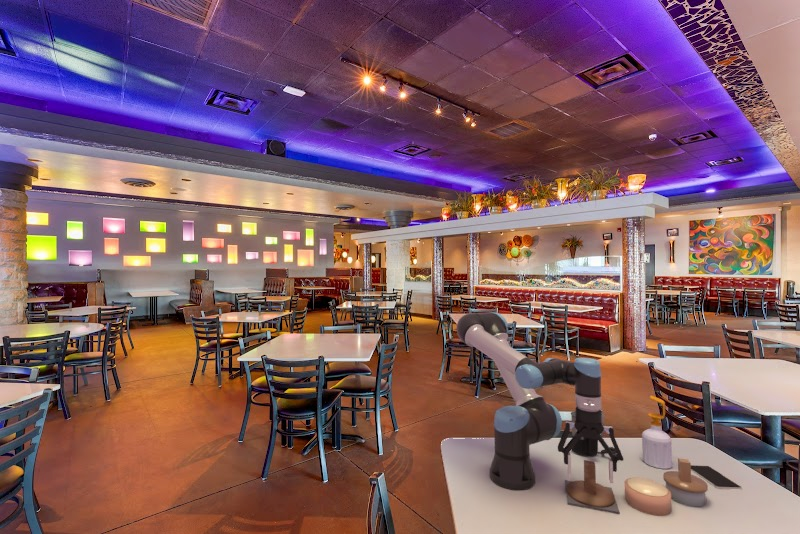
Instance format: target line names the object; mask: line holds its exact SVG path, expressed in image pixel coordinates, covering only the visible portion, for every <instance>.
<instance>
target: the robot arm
mask: <svg viewBox="0 0 800 534" xmlns="http://www.w3.org/2000/svg"><path fill="white" fill-rule="evenodd" d="M508 332H509V324H508V321H507V319H506V318H505V317H504V316H503V315H502V314H501V313H498V312H493V311H487V312H477V313H475V312H471V313H466V314H463V315H462V316H461V317H460V318H459V319H458V321H457V323H456V334H457V336H458V338H459V339H460V340H461V342H463V343H464V344H465V345H467V346H468V347H471V348H475V349H477V350H478V351H480V352H481V353H482V354H484V355H486V356H487V357H488V358H489V359H491V360H492V361H493V362H494V363H495V365H496V368H497V369H498V372H499V373H500V376H501V377H502V379H503V381H504V383H505V385H506V387H507V389H508V391H509V393H510V395H511V396H512V399H513V401H514V402H515V405H504V406H502V407H500V408H498V409H497V410H496V411H495V413H494V420H493V427H494V432H493V434H494V435H493V436H494V455H493V458H492V461H491V464H490V468H489V477H490V480H491V482H493V483H494V484H496V485H498V486H500V487H502V488H504V489H508V490H514V491H515V490H516V491H517V490H518V491H519V490H520V491H523V490H529V489H531V488H533V487H534V486H535V484H536V473H535V470H534V467H533V464H532V460H531V458H530V455H531V454H530V446H531V445H535V444H537V443H541V442H543V441H550V440H552V439H553V438H555V437H558V435H559V434H560V433H561V432H562V425H563V419H562V417H561V412H559V410H558V409H557V408H556V407H555V405H552V404H551V403H547V402H546V400H545V398H544V396H543V395H539V394H537V392H536V390H535V389H538V388H543V387H547V386H551V385H556V384H557V385H558V384H565V385H569V386H573V387H574V394H575V395H574V398H575V399H574V404H575V406H576V407H575V411H576V420H575V422H574V423H573V422H572V421H569V420H565V423H564V430H563V432H562V434H561V438H560V439H559V442H558V444H557V452H560V453H562V454H563V463H564V465H566V466H567V477H572V463H571V462H572V459H571V458H572V456H571V451H572V448H573V447H574V446H575V444H576V443H577V442H578V441H579V440H580V439H581V438H582V437H584V438H591V439H596V438H597V439H598V443H600V445H601V446H602V447H603V450H606V452H607V453H608V454H607V455H608V456H609V457H608V480H609V483H610V484H614V473H615V472H617V471H618V467H617V466H618V465H617V463H618V461H619V462H620V461H621V462H622V461H624V456H623V454H622V451H621V449H620V447H619V445H618V443H617V440H616V437H615V433H614V432H615V431H614V428H613V426H612V425H607V426H606V425H603V413H602V410H601V409H602V371H601V363H600V361H599V360H598V359H596V358H589V357H577V358H575V359H574V361H568V360H564V359H561V358H552V357H547V358H545V360H543V361H542V362H541V361H540V362H537V361H534V360H533V359H532V358H531V359H530V358H529V357H527V356H526V355H524V354H522V353H521V352H520V351H518V350H516V349H515V348H513V347H512V346H510V344H509V342H508V338H509V334H508ZM573 427H575V428H576V429H577V432H576V433H575V435H574V436H573V438H572V437H571V439H570V440H569V441H568V443H567V444H566V441H567V439H568V436H569V434H570V430H571V431H572V428H573ZM604 431H605V432H606V434H607V435H608V436H609V438H610V440H611V443H612V447H613V448H615V450H616V454H613V452H612V451H611V449H610V448H609V447H610V446H609V445H608V444H607V442H606V441H605V439H604V438H603V436H602V433H603V432H604ZM565 444H566V445H565ZM620 451H621V452H620Z"/></svg>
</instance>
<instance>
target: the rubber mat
mask: <svg viewBox="0 0 800 534" xmlns="http://www.w3.org/2000/svg"><path fill="white" fill-rule="evenodd" d="M570 482H572V480H568V479H567V480H566V479H565V480H564V483H565V484H564V485H565V492H566V494H565V495H566V499H567V500H566V502H567V505H568V506H573V507H574V506H575V507H578V508H580V507H581V508H584V509H590V510H595V511H601V512H605V513H611V514H617V515H620V509H619V506H618V503H617V501H616V499H615V503H614V504H613V505H612V506H610V507H606V508H597V507H591V506H587V505H584V504H582V503H579V502H577V501H575V500H574V499H572V498H571V497H570V496H569V495H568V493H567V485H568V484H569V483H570ZM605 487H606V488H608V489H609V490H610V491H611V492H612V493H613V494H614V491H613V488H612V487H609V486H605Z"/></svg>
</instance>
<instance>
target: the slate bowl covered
mask: <svg viewBox="0 0 800 534" xmlns="http://www.w3.org/2000/svg"><path fill="white" fill-rule="evenodd" d="M691 465H692V463H691V461H689V459H686V458H681V457H680V458H677V470H678V471H677V470H668V471H665V472H663V474H662V477H663V478H662V479H663V481H664V482H665V487H667V488H668V489H669V490H670V492H671V501H672V500H673V501H674V502H677V503H678V504H682V505H684V506H689V507H696V508H698V507H699V508H701V507H704V506H706V504H707V503H706V492H707V491H708V482H707V481H706V480H704V479H703V478H701V477H699V476H696V475H693V474H692V471H691Z"/></svg>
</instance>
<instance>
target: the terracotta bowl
mask: <svg viewBox="0 0 800 534" xmlns="http://www.w3.org/2000/svg"><path fill="white" fill-rule="evenodd" d="M624 500H625V502H626V503H627V504H628V505H629V506H630V507H632V508H633V509H635V510H637V511H639V512H642V513H644V514H647V515H651V516H659V517H660V516H662V517H663V516H668V515H671V514H672V499H671V492H670V490H669V489H668V488H667V487H666V485H664V484H662V483H660V482H657V481H654V480H652V479H649V478H644V477H628V478H626V479H625V480H624Z"/></svg>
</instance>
